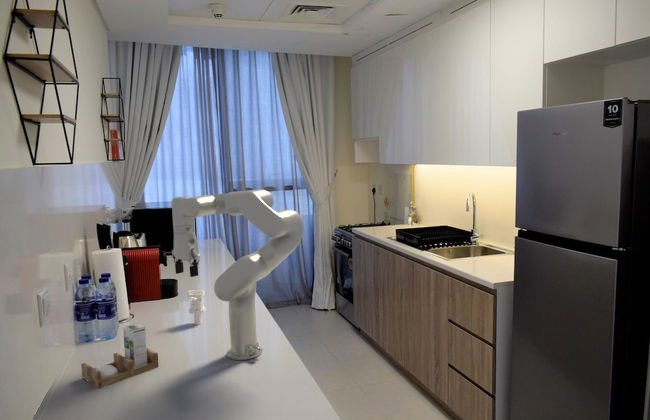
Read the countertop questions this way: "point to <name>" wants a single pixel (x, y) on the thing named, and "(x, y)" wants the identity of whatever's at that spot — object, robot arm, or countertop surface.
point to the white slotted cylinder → (196, 305)
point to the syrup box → (135, 344)
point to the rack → (122, 365)
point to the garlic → (107, 371)
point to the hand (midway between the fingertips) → (186, 274)
